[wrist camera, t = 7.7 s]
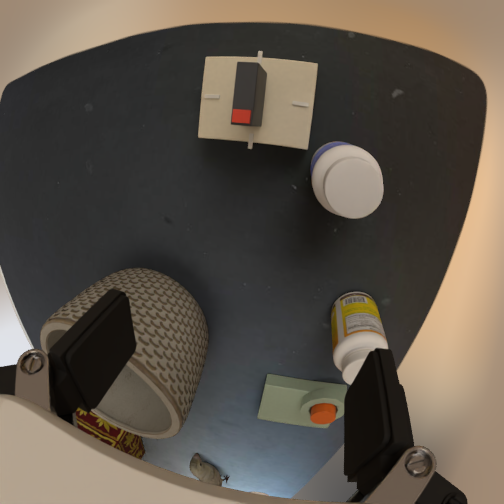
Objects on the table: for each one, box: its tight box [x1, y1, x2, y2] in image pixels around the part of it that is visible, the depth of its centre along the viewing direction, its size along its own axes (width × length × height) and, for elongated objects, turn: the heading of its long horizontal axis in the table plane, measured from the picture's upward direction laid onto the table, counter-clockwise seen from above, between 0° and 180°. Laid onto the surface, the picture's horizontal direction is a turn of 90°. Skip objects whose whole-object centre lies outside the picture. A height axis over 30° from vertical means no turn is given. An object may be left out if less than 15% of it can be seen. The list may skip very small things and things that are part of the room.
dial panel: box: [198, 51, 318, 150], centre depth 23 cm, size 10×9×3 cm
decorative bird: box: [190, 453, 230, 486], centre depth 57 cm, size 5×16×7 cm, turn 23°
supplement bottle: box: [331, 292, 388, 385], centre depth 27 cm, size 6×6×10 cm
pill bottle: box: [310, 142, 384, 219], centre depth 21 cm, size 5×5×10 cm
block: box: [257, 374, 347, 428], centre depth 38 cm, size 12×11×4 cm
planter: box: [40, 268, 209, 439], centre depth 30 cm, size 17×17×16 cm
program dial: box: [231, 62, 267, 127], centre depth 20 cm, size 5×2×5 cm, turn 174°
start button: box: [310, 403, 336, 424], centre depth 34 cm, size 4×4×2 cm
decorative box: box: [76, 408, 145, 460], centre depth 55 cm, size 28×19×15 cm
